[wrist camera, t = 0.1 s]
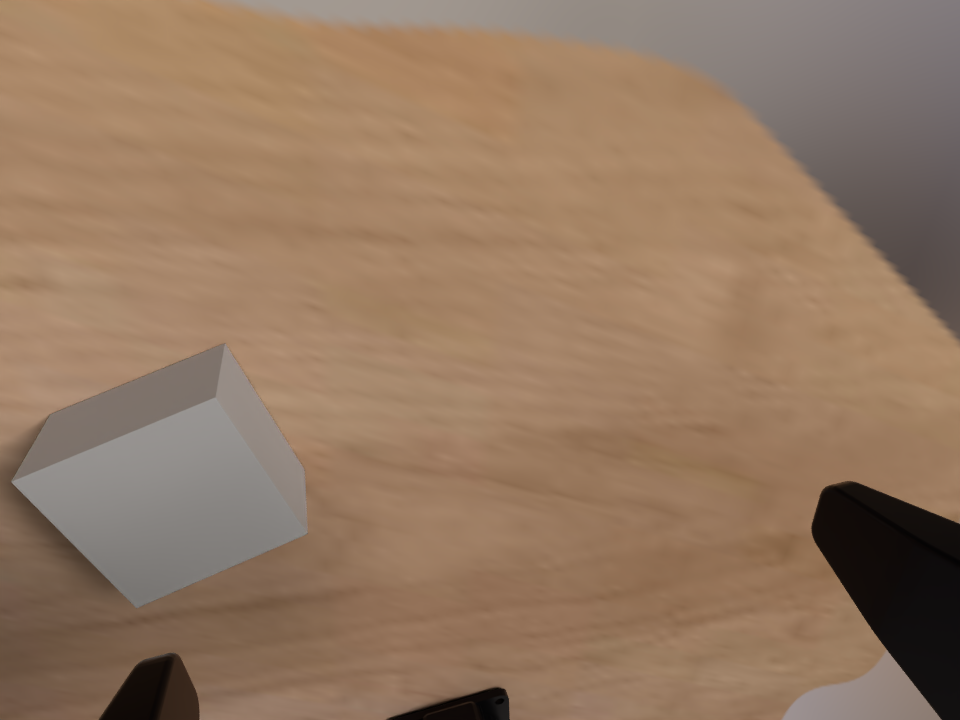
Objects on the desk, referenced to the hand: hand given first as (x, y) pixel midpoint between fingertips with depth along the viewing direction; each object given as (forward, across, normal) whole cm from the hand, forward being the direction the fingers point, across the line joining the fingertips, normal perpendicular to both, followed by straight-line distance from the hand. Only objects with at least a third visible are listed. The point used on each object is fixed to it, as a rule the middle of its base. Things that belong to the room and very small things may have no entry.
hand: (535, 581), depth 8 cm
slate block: (+15, +8, +6) cm, 18 cm away
